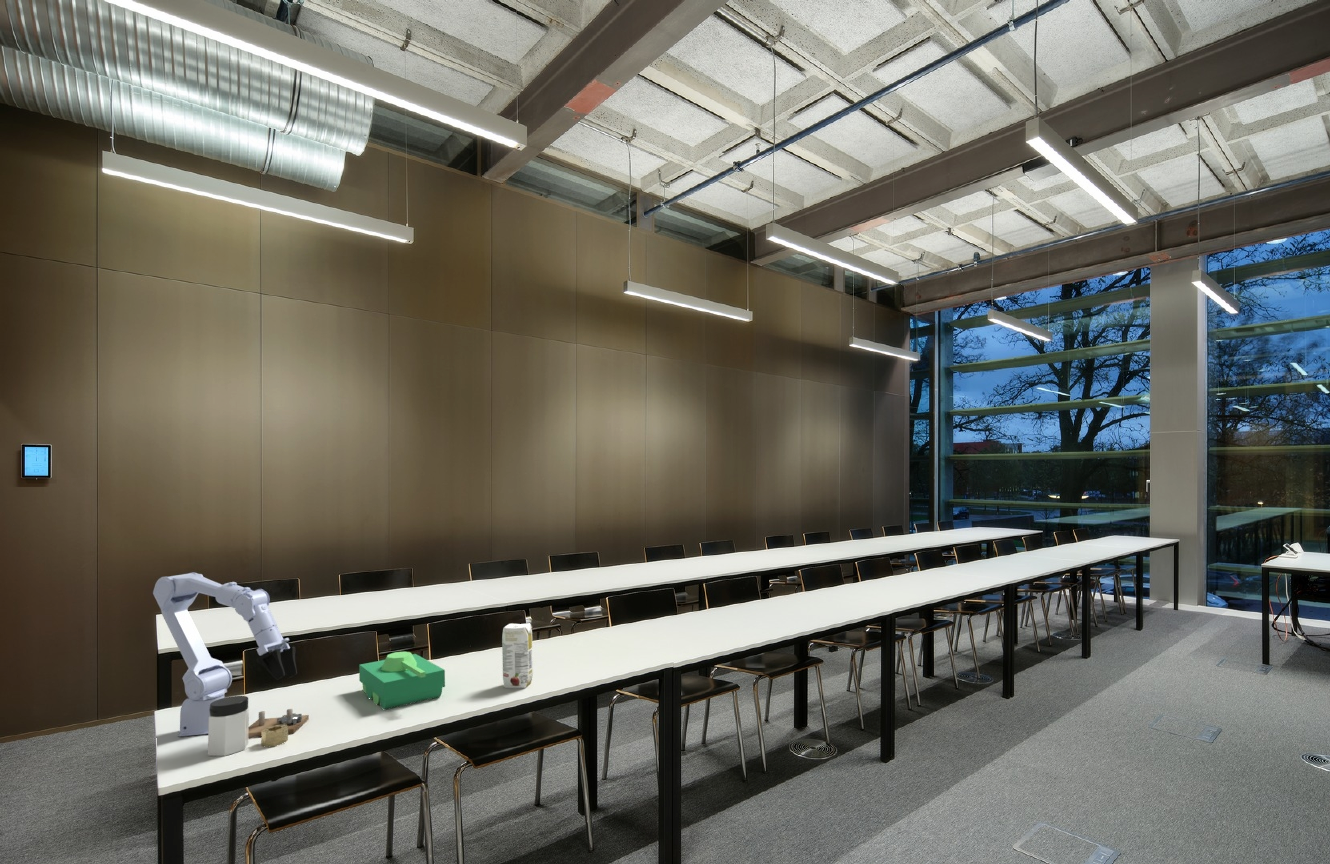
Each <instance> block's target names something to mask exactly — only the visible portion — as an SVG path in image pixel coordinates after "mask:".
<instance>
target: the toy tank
mask: <svg viewBox="0 0 1330 864" xmlns="http://www.w3.org/2000/svg"><path fill="white" fill-rule="evenodd" d="M358 666H359V670H358V671H359V673H358V674H359V679H358V680H359V682H360V683H362V690H363V693H364V692H365V693H364V694H366V697H367V698H368V699H369V698H370V699H369V700H373V701H372V702H373V704H374V705H376V706H378V704H379V705H380V707H382V708H383V709H384V711H385V710H390V709H392V708H393V707H394V708H398V707H402V706H406V704H407V705H411V704H415V703H419V702H423V701H427V699H428V700H431V698H432V699H436V698H440V697H441V696H442V693H443V688H445V687H446V670H445V669H444V668H443V667H440V666H438V665H437V664H435V663H433V662H431V661H430V660H427V659H425V658H424V657H422V656H420V655H418V654H416V653H414V654H412V652H410V651H396V652H392V653H389V654H387V655H386V658H385V659H381V660H378V661H377V660H376V661H372V662H367V663H362V664H361V663H360V664H359V665H358ZM414 702H415V703H414ZM410 703H411V704H410ZM397 706H398V707H397ZM382 708H381V709H382ZM389 708H390V709H389ZM383 709H382V710H383Z"/></svg>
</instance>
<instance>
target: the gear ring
mask: <svg viewBox="0 0 1330 864" xmlns="http://www.w3.org/2000/svg"><path fill="white" fill-rule="evenodd" d="M260 738H261V739H260V740H261V744H260V745H261V747H264V746H265V747H264V748H270V747H269V746H273V747H278V746H281V745H283V744H282V743H284V742H285V743H287V741H288V740H289V734H288V726H287V725H284V724H283V725H274V726H271V727H267V728H265V729H264V730H262V737H260ZM285 743H284V744H285ZM280 744H281V745H280ZM277 745H278V746H277Z"/></svg>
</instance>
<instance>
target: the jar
mask: <svg viewBox="0 0 1330 864" xmlns="http://www.w3.org/2000/svg"><path fill="white" fill-rule="evenodd" d="M209 711H210V716H209V728H208V734H207V735H208V737H207V739H208V741H207V749H208V750H207V756H208V757H210V756H211V757H226V756H229V755H232V754H235V753H239V752H243V751H245V750H246V748H247V746H248V745H249V738H248V732H249V726H250V725H249V724H250V723H249V721H250V720H249V719H250V715H249V714H250V713H249V712H250V706H249V696H246V695H233V696H227V697H226V696H225V697H224V698H222V699H219V700H216V701H214V702H212V703H211V704H210V709H209Z"/></svg>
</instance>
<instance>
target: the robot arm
mask: <svg viewBox="0 0 1330 864" xmlns="http://www.w3.org/2000/svg"><path fill="white" fill-rule="evenodd" d="M157 579H158V580H156V582H155V585H154V588H153V591H152V594H153V596H154V598H155V600H156V602H157V605H158V607H159V609H160V612H161V615H162V617H163V620H164V621H165V623H166V625H167V628H168V629H169V631H170V633H171V637H173V639H174V642H175V643H176V645H177V648H178V650H179V653H180V654H181V656H182V658H183V660H184V662H185V664H186V666H187V668H188V669H187V670H186V672H185V673H184V675H183V676H182V680H183V681H182V682H183V683H184V692H185V694H186V697H187V698H186V699H185V700H184V701H183V702H182V704H181V707H180V713H179V714H180V715H179V733H178V736H177V737H187V736H189V737H190V736H198V735H199V736H200V735H208V728H209V716H210V711H209V709H210V704H211V703H212V702H214V701H216V700H219V699H222V698H225V693H228V689H229V688H230V687H231V685H232V683H233V682H232V681H233V676H232V672H231V671H230V669H229V668H227V667H226V665H224V662H223V661H222V660H219V659H217V658H213V657H212V656H211V654H210V653H209V650H208V649H207V647H206V645H205V642H204V640H203V638H202V636H201V635H200V632H199V631H198V629H197V627H196V625H195V624H196V623H194V621H193V618H192V617H191V615H190V613H189V612H190V611H188V610H189V607H190V606H191V605H192V604H193V603H194V601H195V600H196V598H197V596H198V594H203V595H206V596H209V597H215V601H216V602H217V603H218V604H221V605H223V606H227V607H229V608H232V609H234V610H235V612H236V614H238V615H240V616H241V617H242V618H243V620H244V621H245V622H246V623H247V624H248V626H249V629H250V631H251V633H252V636H253V637H254V640H255V641H256V644H257V646H258V648H256V651H257V654H258V656H259V657H258V658H256V660H255V661H256V663H257V664H259V665H261V666H262V667H264V668H265V669H266V670H267V671H268V673H269V674H270V675H271V676H272V678H273V679H275V680H276V681H278V680H280V679H282V678H284V677H287V678H288V679H290V678H292V677H294V676H296V675H297V674H298V670H297V664H296V651H297V649H296V647H295V646H291V647H290V645H289V643H287V642H289V641H290V638H289V637H286V638H284V637H283V636H282V633H281V630H280V629H279V627H278V625H277V621H276V620H275V618H274V616H273V614H272V612H271V609H270V607H269V605H270V595H269V593H268V592H267V591H265V590H264V589H262V588H258V589H255V590H253V589H251V587H248V586H246V587H243V586H241V585H238V584H237V582H235V581H232V582H231V581H230V582H227V583H226V582H225V583H224V584H221V583H219V582H217V581H214V580H211V579H209V578H207V577H204V576H203V574H202V573H197V572H189V573H183V574H178V575H171V576H161V577H160V578H157Z"/></svg>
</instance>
